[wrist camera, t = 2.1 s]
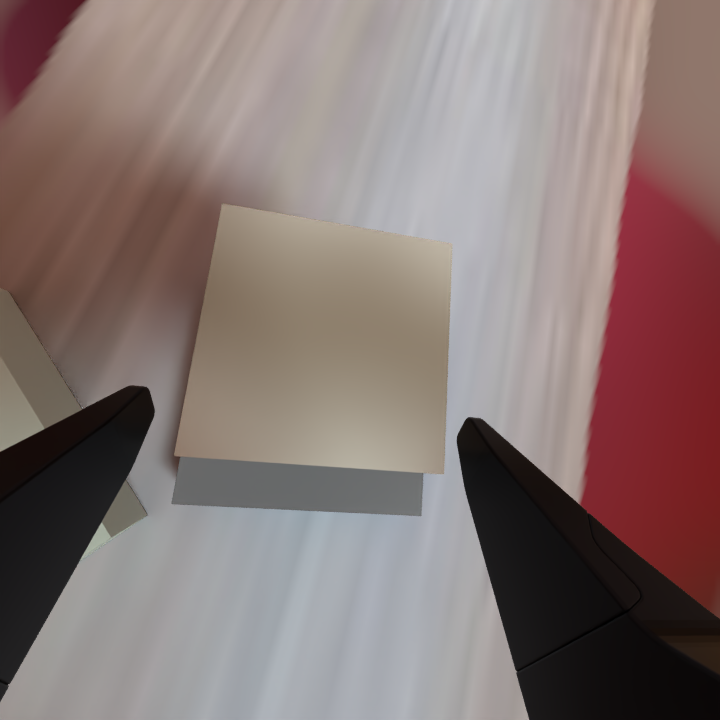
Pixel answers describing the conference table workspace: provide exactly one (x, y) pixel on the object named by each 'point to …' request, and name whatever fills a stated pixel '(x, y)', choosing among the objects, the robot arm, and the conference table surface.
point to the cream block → (320, 347)
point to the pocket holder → (296, 487)
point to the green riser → (45, 407)
